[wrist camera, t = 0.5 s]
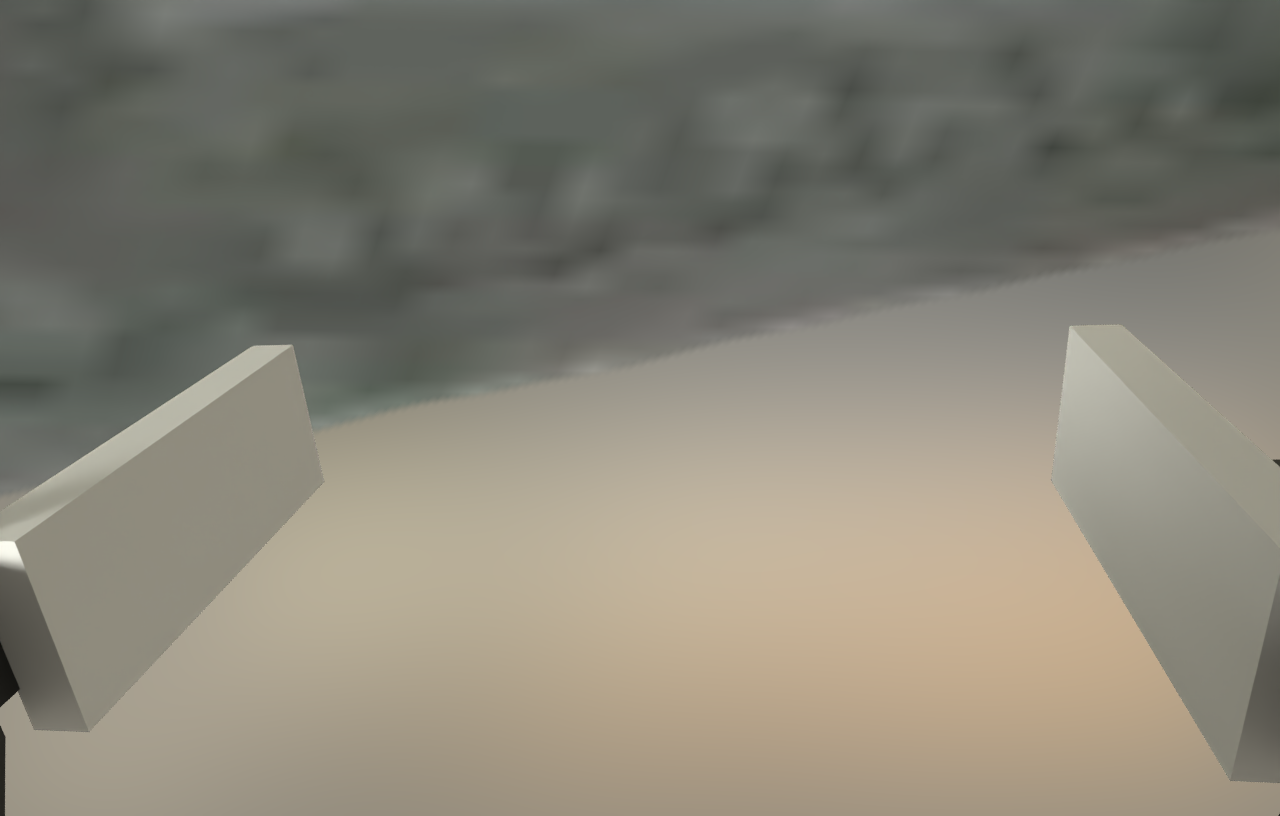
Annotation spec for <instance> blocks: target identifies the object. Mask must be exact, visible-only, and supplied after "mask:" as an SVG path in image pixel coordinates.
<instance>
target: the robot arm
mask: <svg viewBox="0 0 1280 816" xmlns="http://www.w3.org/2000/svg"><path fill="white" fill-rule="evenodd" d="M1051 481H1052V483H1053V484H1054V486H1055V488H1056V489H1057V491H1058V492H1059V495H1060V496H1061V498H1062V499H1063V501H1064V503H1065V505H1066V506H1067V508H1068V510H1069V511H1070V513H1071V515H1072V516H1073V518H1074V520H1075V521H1076V523H1077V525H1078V526H1079V528H1080V530H1081V532H1082V533H1083V535H1084V537H1085V538H1086V540H1087V541H1088V543H1089V545H1090V547H1091V548H1092V550H1093V552H1094V553H1095V555H1096V557H1097V558H1098V560H1099V562H1100V563H1101V565H1102V567H1103V568H1104V570H1105V572H1106V573H1107V575H1108V577H1109V578H1110V580H1111V582H1112V583H1113V585H1114V587H1115V588H1116V590H1117V592H1118V594H1119V595H1120V597H1121V598H1122V600H1123V602H1124V604H1125V605H1126V607H1127V609H1128V610H1129V612H1130V614H1131V615H1132V617H1133V619H1134V620H1135V622H1136V624H1137V625H1138V627H1139V629H1140V630H1141V632H1142V634H1143V635H1144V637H1145V639H1146V640H1147V642H1148V644H1149V646H1150V647H1151V649H1152V650H1153V652H1154V654H1155V656H1156V657H1157V659H1158V661H1159V662H1160V664H1161V666H1162V667H1163V669H1164V671H1165V672H1166V674H1167V676H1168V677H1169V679H1170V681H1171V683H1172V684H1173V686H1174V688H1175V689H1176V691H1177V693H1178V694H1179V696H1180V697H1181V699H1182V701H1183V703H1184V704H1185V706H1186V708H1187V709H1188V711H1189V713H1190V714H1191V716H1192V718H1193V719H1194V721H1195V723H1196V724H1197V726H1198V728H1199V729H1200V731H1201V733H1202V735H1203V736H1204V738H1205V740H1206V741H1207V743H1208V744H1209V746H1210V748H1211V750H1212V751H1213V753H1214V755H1215V756H1216V758H1217V759H1218V761H1219V763H1220V765H1221V766H1222V768H1223V770H1224V771H1225V773H1226V775H1227V776H1228V778H1229V780H1230V781H1247V782H1270V783H1280V460H1272V459H1270V458H1269V457H1268V456H1267V455H1266V454H1265V453H1264V452H1263V451H1262V450H1260V449H1259V448H1258V447H1257V446H1256V445H1255V444H1254V443H1253V442H1251V441H1250V440H1249V439H1248V438H1247V437H1246V436H1245V435H1244V434H1243V433H1241V432H1240V431H1239V430H1238V429H1237V428H1236V427H1235V426H1234V425H1233V424H1231V423H1230V422H1229V421H1228V420H1227V419H1226V418H1225V417H1224V416H1223V415H1222V414H1220V413H1219V412H1218V411H1217V410H1216V409H1215V408H1214V407H1213V406H1212V405H1210V404H1209V403H1208V402H1207V401H1206V400H1205V399H1204V398H1202V397H1201V396H1200V395H1199V394H1198V393H1197V392H1196V391H1195V390H1194V389H1193V388H1191V387H1190V386H1189V385H1188V384H1187V383H1186V382H1185V381H1184V380H1182V379H1181V378H1180V377H1179V376H1178V375H1177V374H1176V373H1175V372H1174V371H1173V370H1171V369H1170V368H1169V367H1168V366H1167V365H1166V364H1165V363H1164V362H1163V361H1161V360H1160V359H1159V358H1158V357H1157V356H1156V355H1154V353H1152V352H1151V351H1150V350H1149V349H1148V348H1147V347H1146V346H1145V345H1144V344H1143V343H1141V342H1140V341H1139V340H1138V339H1137V338H1136V337H1135V336H1133V335H1132V334H1131V333H1130V332H1129V331H1128V330H1127V329H1126V328H1125V327H1124V326H1123V325H1083V326H1070V328H1069V336H1068V345H1067V354H1066V361H1065V370H1064V378H1063V387H1062V395H1061V403H1060V412H1059V420H1058V428H1057V437H1056V446H1055V454H1054V462H1053V470H1052V479H1051ZM323 482H324V478H323V474H322V470H321V465H320V461H319V457H318V452H317V448H316V443H315V439H314V435H313V430H312V426H311V422H310V417H309V413H308V409H307V404H306V400H305V396H304V391H303V387H302V383H301V378H300V374H299V370H298V365H297V361H296V357H295V352H294V348H293V345H268V346H252V347H251V348H249V349H247V350H246V351H244V352H243V353H241V354H240V355H238V356H237V357H235V358H234V359H232V360H231V361H229V362H228V363H226V364H225V365H223V366H221V367H220V368H218V369H217V370H215V371H214V372H212V373H211V374H209V375H208V376H206V377H205V378H203V379H202V380H200V381H199V382H197V383H195V384H194V385H192V386H191V387H189V388H188V389H186V390H185V391H183V392H182V393H180V394H179V395H177V396H176V397H174V398H173V399H171V400H170V401H168V402H166V403H165V404H163V405H162V406H160V407H159V408H157V409H156V410H154V411H153V412H151V413H150V414H148V415H147V416H145V417H144V418H142V419H140V420H139V421H137V422H136V423H134V424H133V425H131V426H130V427H128V428H127V429H125V430H124V431H122V432H121V433H119V434H118V435H116V436H114V437H113V438H111V439H110V440H108V441H107V442H105V443H104V444H102V445H101V446H99V447H98V448H96V449H95V450H93V451H92V452H90V453H88V454H87V455H85V456H84V457H82V458H81V459H79V460H78V461H76V462H75V463H73V464H72V465H70V466H69V467H67V468H66V469H64V470H63V471H61V472H59V473H58V474H56V475H55V476H53V477H52V478H50V479H49V480H47V481H46V482H44V483H43V484H41V485H40V486H38V487H37V488H35V489H33V490H32V491H30V492H29V493H27V494H26V495H24V496H23V497H21V498H20V499H18V500H17V501H15V502H14V503H12V504H11V505H9V506H7V507H6V508H4V509H3V510H1V511H0V707H1V706H2V705H3V704H4V703H5V702H6V701H7V700H8V699H10V698H11V697H12V696H13V695H14V694H15V693H16V692H17V691H18V693H19V695H20V697H21V700H22V702H23V704H24V707H25V709H26V712H27V714H28V716H29V719H30V721H31V723H32V726H33V728H34V730H52V731H53V730H54V731H76V732H77V731H78V732H90V730H91V729H92V728H93V727H94V726H95V725H96V724H97V723H98V722H99V721H100V720H101V719H102V718H103V717H104V716H105V714H106V713H107V712H108V711H109V710H110V709H111V708H112V707H113V706H114V705H115V704H116V703H117V701H118V700H120V698H121V697H122V696H123V695H124V694H125V693H126V692H127V691H128V690H129V689H130V688H131V687H132V686H133V685H134V683H135V682H137V680H138V679H139V678H140V677H141V676H142V675H143V674H144V673H145V672H146V671H147V670H148V669H149V668H150V666H152V664H153V663H154V662H155V661H156V660H157V659H158V658H159V657H160V656H161V655H162V654H163V653H164V651H166V650H167V649H168V647H169V646H170V645H171V644H172V643H173V642H174V641H175V640H176V639H177V638H178V637H179V636H180V635H181V634H182V633H183V632H184V630H185V629H186V628H187V627H188V626H189V625H190V624H191V623H192V622H193V621H194V620H195V619H196V617H198V616H199V614H200V613H201V612H202V611H203V610H204V609H205V608H206V607H207V606H208V605H209V604H210V603H211V602H212V601H213V599H215V597H216V596H217V595H218V594H219V593H220V592H221V591H222V590H223V589H224V588H225V587H226V586H227V585H228V583H230V581H231V580H232V579H233V578H234V577H235V576H236V575H237V574H238V573H239V572H240V571H241V570H242V569H243V568H244V567H245V566H246V564H247V563H248V562H249V561H250V560H251V559H252V558H253V557H254V556H255V555H256V554H257V553H258V552H259V551H260V550H261V548H262V547H263V546H264V545H265V544H266V543H267V542H268V541H269V540H270V539H271V538H272V537H273V536H274V535H275V533H277V531H278V530H279V529H280V528H281V527H282V526H283V525H284V524H285V523H286V522H287V521H288V520H289V519H290V518H291V517H292V516H293V514H294V513H295V512H296V511H297V510H298V509H299V508H300V507H301V506H302V505H303V503H305V502H306V500H308V499H309V497H310V496H311V495H312V494H313V493H314V492H315V491H316V490H317V489H318V488H319V487H320V486H321V485H322V484H323ZM0 816H5V735H4V733H3V731H2V728H1V726H0ZM1279 816H1280V814H1279Z"/></svg>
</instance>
